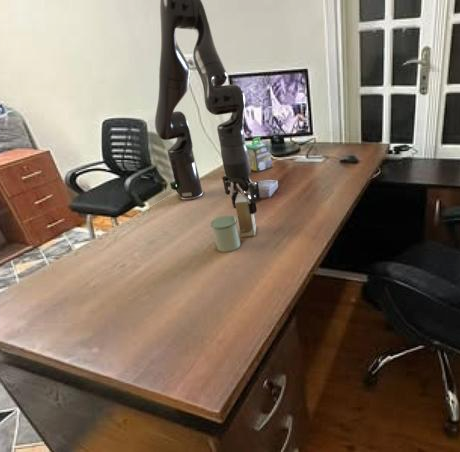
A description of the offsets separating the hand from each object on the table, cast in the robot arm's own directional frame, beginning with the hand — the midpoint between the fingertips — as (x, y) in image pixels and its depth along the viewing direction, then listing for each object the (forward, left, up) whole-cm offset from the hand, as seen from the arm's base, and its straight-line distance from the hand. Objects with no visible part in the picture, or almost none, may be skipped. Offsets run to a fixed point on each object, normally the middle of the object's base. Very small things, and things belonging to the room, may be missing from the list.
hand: (245, 210), depth 109 cm
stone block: (-21, +26, -8) cm, 34 cm away
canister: (+1, -9, -8) cm, 12 cm away
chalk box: (-46, +47, -8) cm, 66 cm away
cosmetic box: (0, 0, -8) cm, 8 cm away
